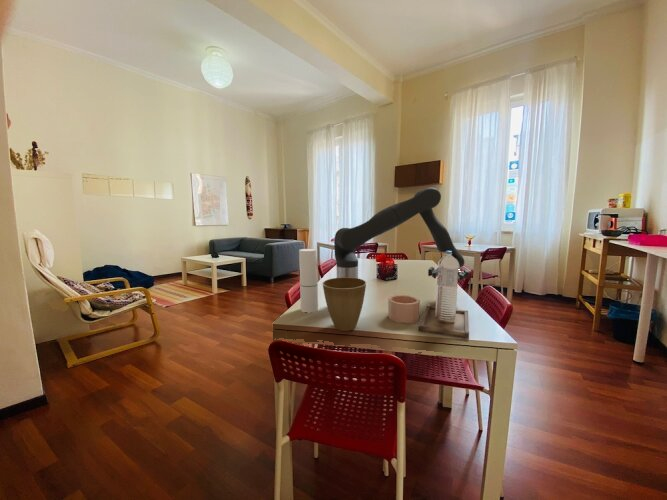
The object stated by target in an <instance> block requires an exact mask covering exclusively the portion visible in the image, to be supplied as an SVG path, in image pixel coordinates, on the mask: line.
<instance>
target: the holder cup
mask: <svg viewBox="0 0 667 500" xmlns="http://www.w3.org/2000/svg"><path fill="white" fill-rule="evenodd" d="M387 304H388V305H387V306H388V307H387V315H388V318H389V319H390V320H391V321H393V322H396V323H400V324H414V323H417V322H419V320H420V309H421V307H420V305H421V301H420V299H419V298H418V297H415V296H412V295H403V294H399V295H398V294H397V295H392V296H390V297H388V302H387Z"/></svg>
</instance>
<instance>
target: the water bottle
mask: <svg viewBox="0 0 667 500" xmlns="http://www.w3.org/2000/svg"><path fill="white" fill-rule="evenodd" d="M451 254H452V251H446V252H445V255H444V256H442V257H441V259H439V260H438V262H437V268H438V277H436V280H437V282H436V292H435V293H436V296H435V307H436V309H435V318H436V320H437V321H439V322H443V323H453V322H455V318H456V309H457V301H458V287H459V286H458V281H459V278H458V268H459V263H458V261H457V260H456V259H455V258H454V257H453V256H451Z"/></svg>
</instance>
